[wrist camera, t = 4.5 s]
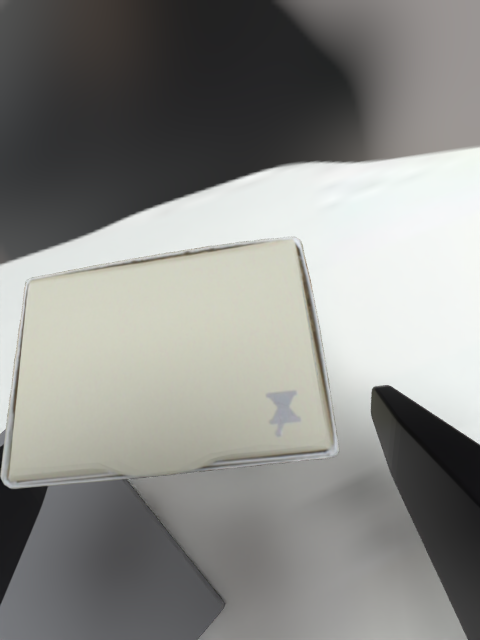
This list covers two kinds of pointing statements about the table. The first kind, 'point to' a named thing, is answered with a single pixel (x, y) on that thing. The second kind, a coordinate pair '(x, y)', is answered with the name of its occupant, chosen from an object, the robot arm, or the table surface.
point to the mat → (104, 572)
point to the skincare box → (169, 368)
